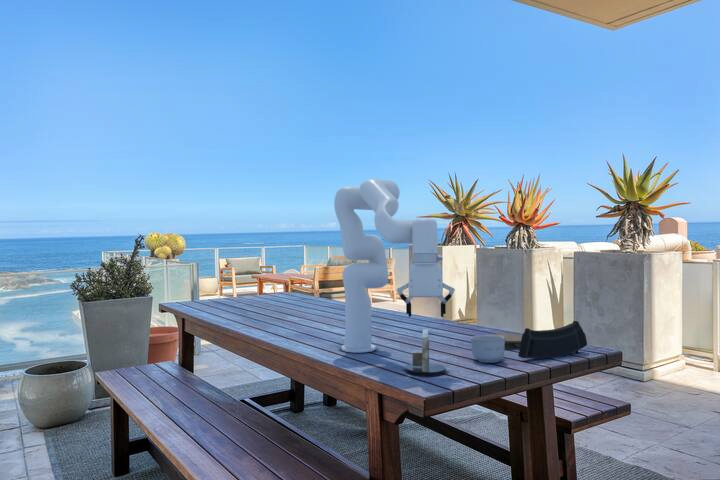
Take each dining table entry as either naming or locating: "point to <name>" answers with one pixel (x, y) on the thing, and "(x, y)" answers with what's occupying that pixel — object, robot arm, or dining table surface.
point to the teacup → (488, 348)
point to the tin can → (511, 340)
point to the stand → (432, 370)
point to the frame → (422, 353)
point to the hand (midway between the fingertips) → (425, 316)
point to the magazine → (552, 342)
